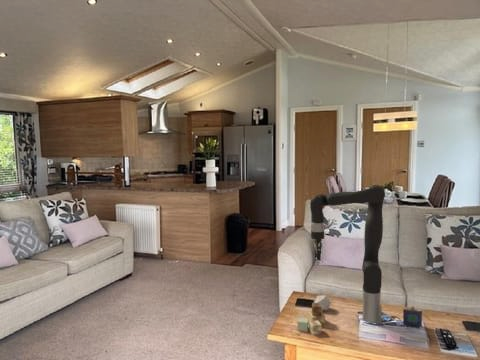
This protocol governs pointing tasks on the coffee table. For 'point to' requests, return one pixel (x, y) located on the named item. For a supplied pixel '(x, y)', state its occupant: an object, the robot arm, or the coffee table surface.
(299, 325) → the sage block
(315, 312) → the walnut block
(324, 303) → the die
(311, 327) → the beech block
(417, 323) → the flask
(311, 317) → the oak base
